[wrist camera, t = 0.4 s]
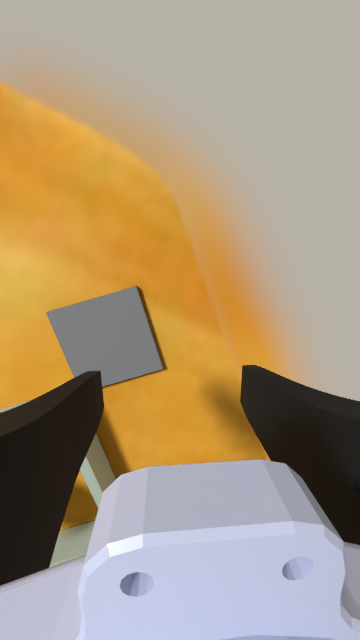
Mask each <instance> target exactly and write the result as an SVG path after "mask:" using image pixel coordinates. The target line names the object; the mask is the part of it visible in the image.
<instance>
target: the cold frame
mask: <svg viewBox="0 0 360 640" xmlns="http://www.w3.org/2000/svg"><path fill="white" fill-rule="evenodd" d="M30 401H31V400H30ZM27 402H29V401H26V402H23V403H19V404H16V405H12V406H9V407H6V408H2V409H0V413H1V412H4V411H7V410H10V409H12V408H15V407H17V406H19V405H22V404H24V403H27ZM80 471H81V473H82V475H83V478H84V480H85V482H86V484H87V486H88V488H89V490H90V492H91V494H92V496H93V498H94V500H95V502H96V504H97V507H98V509H99V505H100V502H101V498H102V494H103V491H104V490H106V489H107V488H108V487H109V486H110V485H111V484H112V483H113V482H114V481H115V480H116V477H115V475H114V473H113V471H112V468H111V466H110V464H109V461H108V459H107V457H106V455H105V452H104V450H103V448H102V446H101V443H100V441H99V439H98V436H97V434H95V436H94V439H93V441H92V443H91V445H90V448H89V450H88V452H87V454H86V457H85V459H84V461H83V464H82V466H81V468H80ZM94 524H95V521H92V522H88V523H85V524H82V525H78V526H75V527H71V528H68V529H65V530H61V531H60V532H59V535H58V538H57V542H56V545H55V549H54V552H53V556H52V559H51V563H50V567H53V566H55V565H58V564H61V563H64V562H66V561H69V560H72V559H75V558H77V557H80V556H83V555H86V554H87V550H88V546H89V542H90V539H91V535H92V531H93V528H94ZM50 567H49V568H50Z"/></svg>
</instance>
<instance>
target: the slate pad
mask: <svg viewBox="0 0 360 640" xmlns="http://www.w3.org/2000/svg"><path fill="white" fill-rule="evenodd" d="M46 314H47V316H48V318H49V320H50V323H51V325H52V327H53V330H54V332H55V334H56V337H57V339H58V341H59V343H60V346H61V348H62V350H63V353H64V355H65V357H66V360H67V362H68V364H69V366H70V369H71V371H72V373H73V376H74V378H75V377H77V376H79V375H80V374H82V373H85V372H87V371H101V380H102V387H103V386H106V385H110V384H113V383H117V382H120V381H124V380H127V379H130V378H134V377H137V376H141V375H144V374H148V373H151V372H155V371H158V370H161V369H163V365H162V362H161V359H160V356H159V353H158V350H157V347H156V343H155V340H154V337H153V334H152V331H151V328H150V325H149V322H148V319H147V316H146V313H145V310H144V307H143V303H142V300H141V297H140V294H139V291H138V288H137V286H135V287H132V288H128V289H125V290H122V291H118V292H115V293H111V294H108V295H104V296H101V297H97V298H94V299H90V300H87V301H83V302H80V303H77V304H73V305H70V306H66V307H63V308H59V309H56V310H52V311H49V312H46Z"/></svg>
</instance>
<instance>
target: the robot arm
mask: <svg viewBox="0 0 360 640" xmlns="http://www.w3.org/2000/svg"><path fill="white" fill-rule="evenodd" d="M240 401H241V404H242V407H243V409H244V412H245V414H246V417H247V419H248V421H249V423H250V424H251V426H252V428H253V430H254V432H255V433H256V435H257V437H258V439H259V440H260V442H261V444H262V446H263V447H264V449H265V451H266V453H267V454H268V456H269V458H270V460H271V461H267V460H245V461H229V462H214V463H199V464H183V465H168V466H153V467H146V468H142V469H139V470H136V471H132V472H129V473H125V474H122V475H120V476H119V477H118V478H117V479H116V480H115V481H114V482H113V483H112V484H111V485H110V486H109V487H108V488H107V489H106V490H104V491H103V494H102V498H101V502H100V505H99V509H98V513H97V516H96V520H95V524H94V528H93V531H92V535H91V539H90V542H89V546H88V550H87V554H86V555H83V556H80V557H77V558H75V559H72V560H69V561H66V562H64V563H61V564H58V565H55V566H53V567H50V563H51V559H52V556H53V552H54V549H55V545H56V542H57V538H58V535H59V532H60V528H61V525H62V522H63V518H64V515H65V512H66V509H67V505H68V502H69V499H70V496H71V493H72V490H73V487H74V484H75V481H76V478H77V476H78V473H79V471H80V468H81V466H82V464H83V461H84V459H85V457H86V454H87V452H88V450H89V448H90V445H91V443H92V441H93V439H94V436H95V434H96V432H97V429H98V427H99V424H100V420H101V417H102V413H103V409H104V401H103V391H102V380H101V371H87V372H85V373H82V374H80V375H79V376H77V377H75V378H73V379H71V380H70V381H68V382H66V383H64V384H62V385H61V386H59V387H57V388H55V389H53V390H51V391H49V392H47V393H45V394H43V395H41V396H39V397H37V398H35V399H33V400H31V401H29V402H27V403H24V404H22V405H19V406H17V407H15V408H12V409H10V410H7V411H4V412H1V413H0V640H360V402H359V401H355V400H351V399H347V398H343V397H339V396H335V395H332V394H328V393H325V392H321V391H318V390H316V389H313V388H310V387H307V386H304V385H302V384H299V383H297V382H294V381H291V380H289V379H287V378H285V377H282V376H280V375H278V374H276V373H273V372H271V371H269V370H266V369H264V368H262V367H259V366H256V365H244V366H243V367H242V383H241V400H240ZM49 567H50V568H49Z"/></svg>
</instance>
